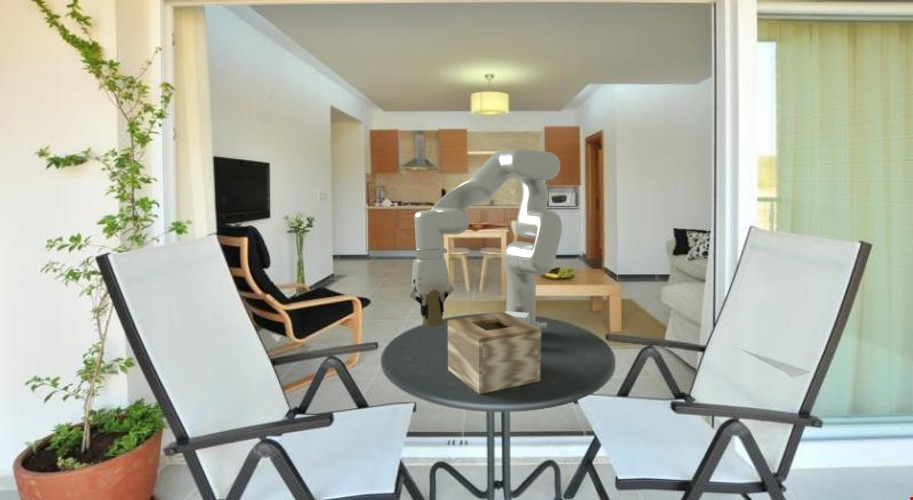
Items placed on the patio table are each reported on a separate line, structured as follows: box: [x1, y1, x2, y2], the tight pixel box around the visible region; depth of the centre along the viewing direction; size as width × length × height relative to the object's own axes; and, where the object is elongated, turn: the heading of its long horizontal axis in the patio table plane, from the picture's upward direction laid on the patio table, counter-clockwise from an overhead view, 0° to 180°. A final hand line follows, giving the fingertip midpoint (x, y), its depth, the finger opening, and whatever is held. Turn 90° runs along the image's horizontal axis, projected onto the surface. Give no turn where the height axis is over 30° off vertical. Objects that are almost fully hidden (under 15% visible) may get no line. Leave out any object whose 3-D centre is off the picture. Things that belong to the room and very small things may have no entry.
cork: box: [422, 290, 444, 328], centre depth 146 cm, size 6×6×11 cm
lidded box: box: [447, 311, 542, 395], centre depth 134 cm, size 18×18×14 cm
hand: (432, 315), depth 147 cm, fingers closed on cork, 3 cm apart
